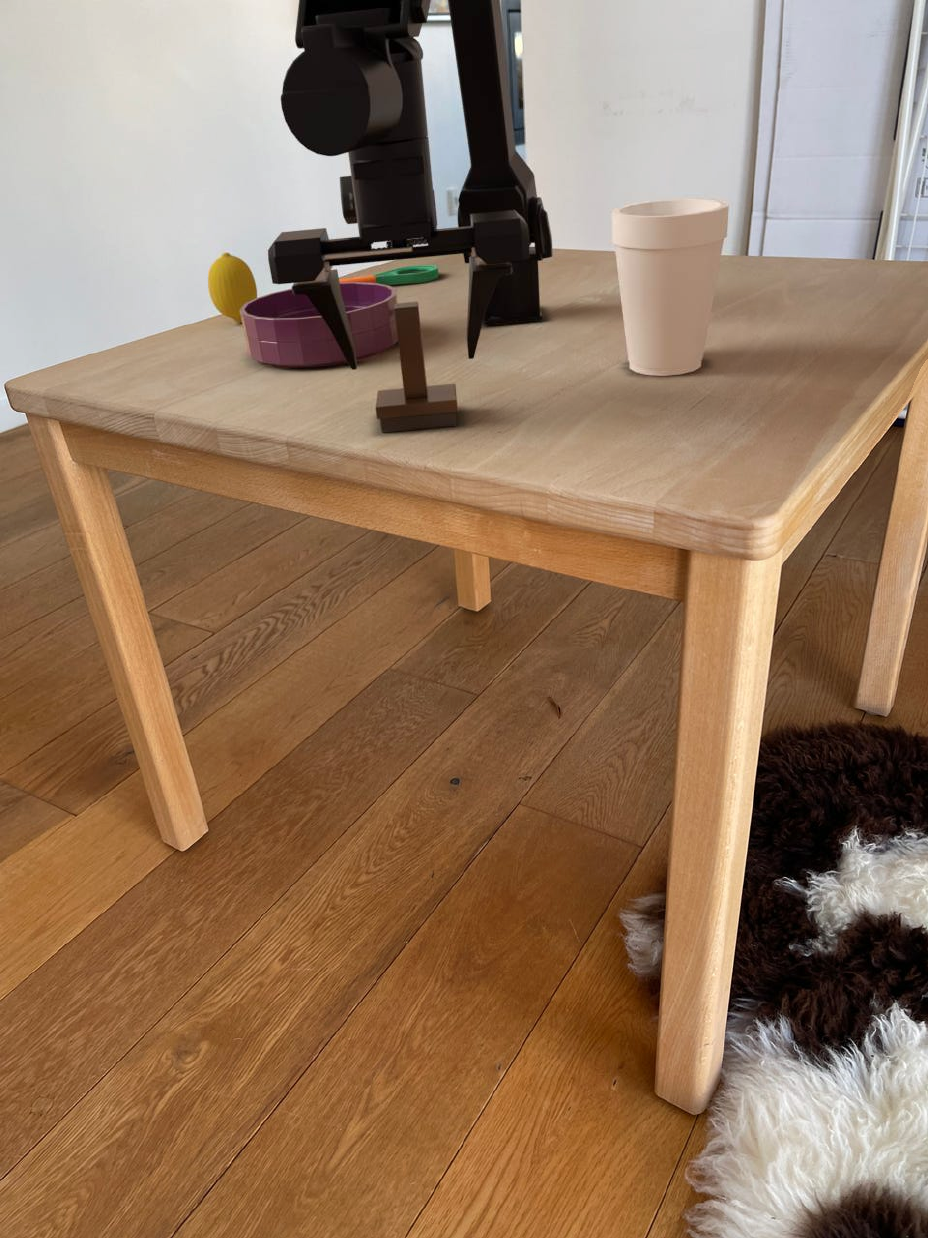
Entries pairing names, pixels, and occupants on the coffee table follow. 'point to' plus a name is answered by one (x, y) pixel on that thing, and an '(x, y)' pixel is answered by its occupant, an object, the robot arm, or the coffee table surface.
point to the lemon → (231, 285)
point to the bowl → (318, 326)
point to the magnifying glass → (399, 276)
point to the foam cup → (668, 279)
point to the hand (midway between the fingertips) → (412, 362)
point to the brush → (414, 384)
